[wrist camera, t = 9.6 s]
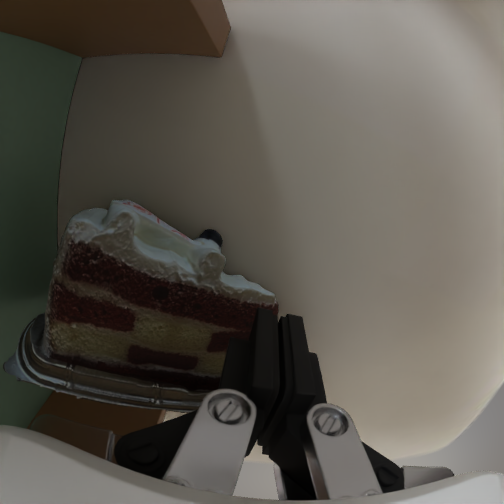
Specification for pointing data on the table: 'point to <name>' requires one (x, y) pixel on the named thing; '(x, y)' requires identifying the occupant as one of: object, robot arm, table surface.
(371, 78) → the table surface
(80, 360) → the chocolate cake
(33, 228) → the cubby shelf
